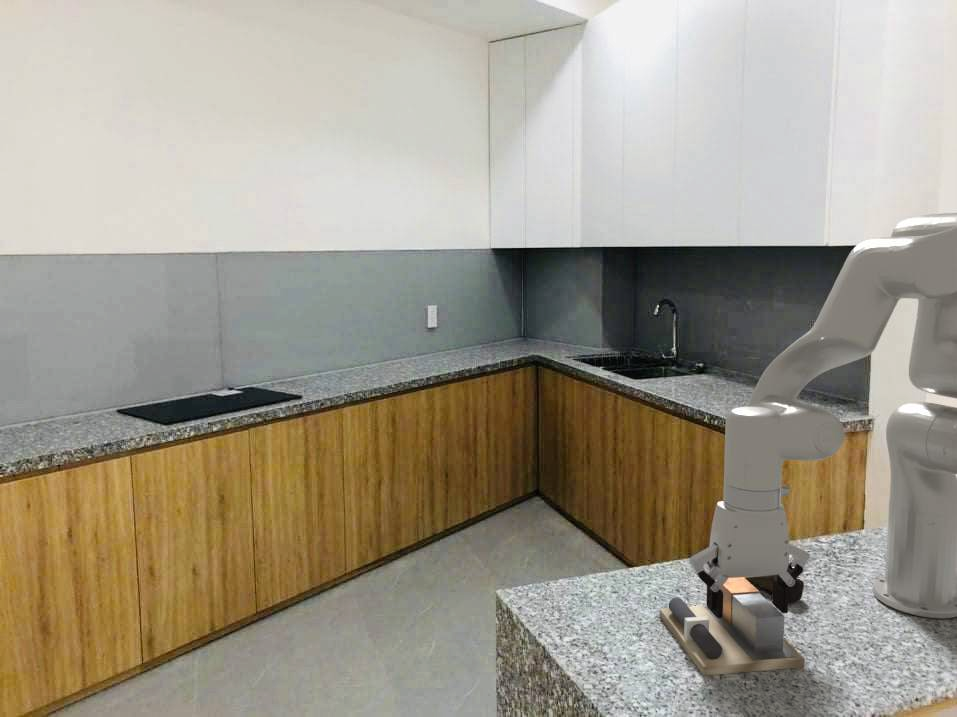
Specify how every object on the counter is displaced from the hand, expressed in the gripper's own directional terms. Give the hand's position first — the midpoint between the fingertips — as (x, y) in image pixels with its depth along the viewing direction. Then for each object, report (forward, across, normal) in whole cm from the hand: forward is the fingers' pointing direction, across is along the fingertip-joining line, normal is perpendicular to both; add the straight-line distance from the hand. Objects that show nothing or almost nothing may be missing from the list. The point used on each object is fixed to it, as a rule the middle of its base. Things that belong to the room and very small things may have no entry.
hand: (747, 611), depth 102 cm
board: (+4, +3, 0) cm, 5 cm away
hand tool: (+5, -9, -18) cm, 20 cm away
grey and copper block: (+3, 0, 0) cm, 3 cm away
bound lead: (+4, +8, 0) cm, 9 cm away
